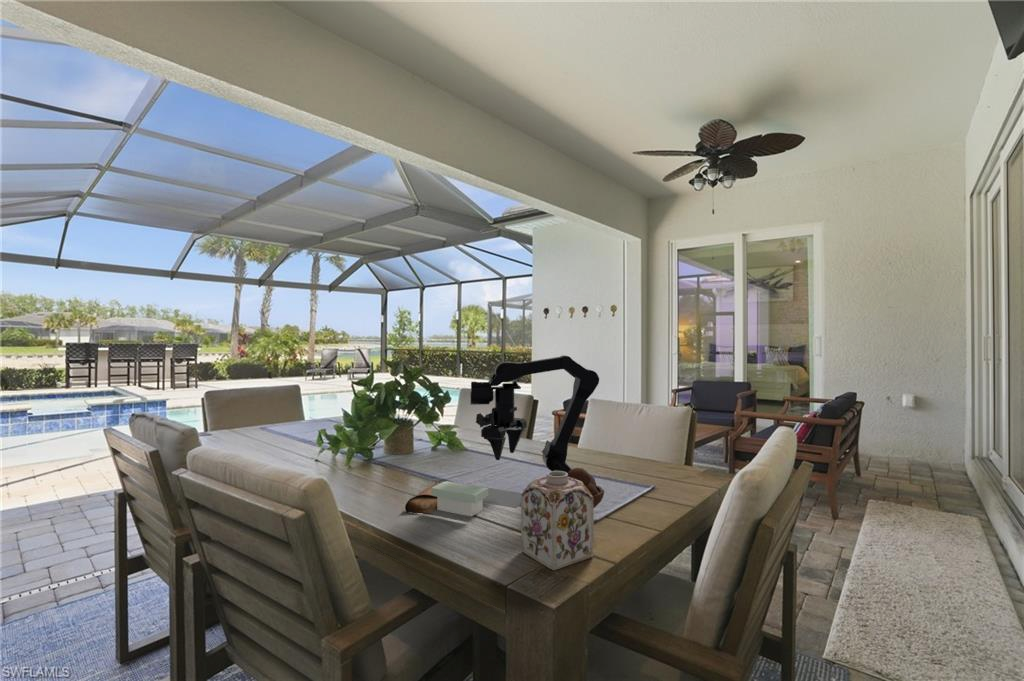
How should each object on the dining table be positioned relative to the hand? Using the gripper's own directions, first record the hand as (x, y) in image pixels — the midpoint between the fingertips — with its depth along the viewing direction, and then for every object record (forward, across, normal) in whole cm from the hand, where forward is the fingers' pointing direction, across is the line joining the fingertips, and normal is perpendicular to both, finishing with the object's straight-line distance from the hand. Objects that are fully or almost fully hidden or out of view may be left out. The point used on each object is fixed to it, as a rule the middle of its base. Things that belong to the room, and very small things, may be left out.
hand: (505, 456), depth 145 cm
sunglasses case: (+13, +14, -16) cm, 25 cm away
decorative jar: (+12, +29, +28) cm, 42 cm away
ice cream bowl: (+12, +12, +28) cm, 33 cm away
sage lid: (+7, +17, -5) cm, 19 cm away
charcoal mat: (+12, +3, -1) cm, 12 cm away
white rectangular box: (+12, +17, -5) cm, 21 cm away
